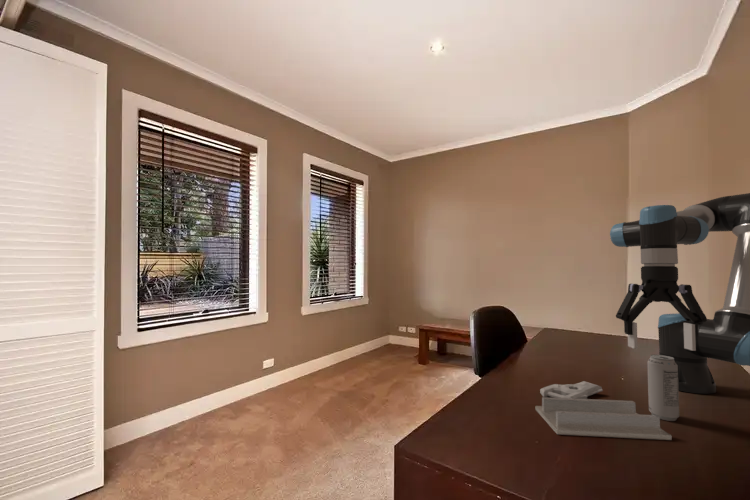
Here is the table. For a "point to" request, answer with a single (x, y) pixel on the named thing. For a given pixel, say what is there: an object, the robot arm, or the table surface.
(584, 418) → the grey flanged channel tray
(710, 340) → the robot arm
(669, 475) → the table surface
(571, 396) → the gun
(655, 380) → the energy drink can
